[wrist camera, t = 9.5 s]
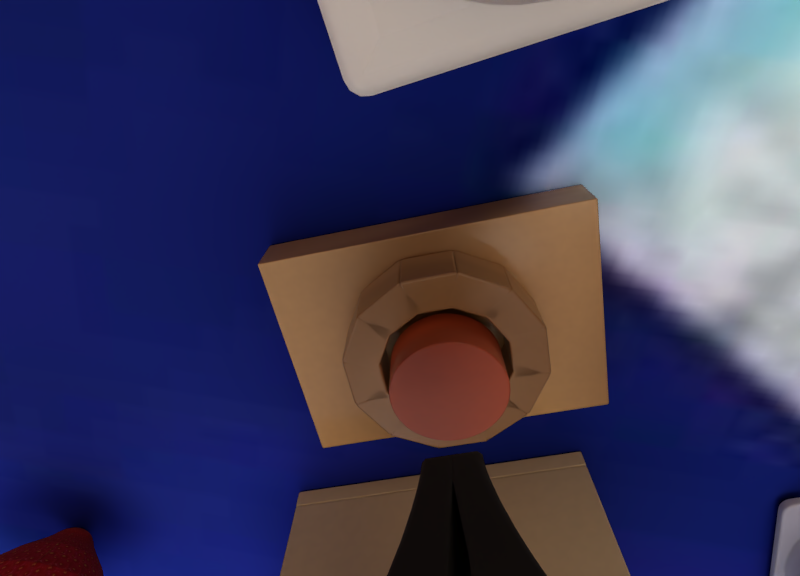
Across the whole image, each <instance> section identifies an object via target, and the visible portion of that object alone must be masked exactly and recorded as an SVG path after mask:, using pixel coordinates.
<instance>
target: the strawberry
mask: <svg viewBox="0 0 800 576" xmlns="http://www.w3.org/2000/svg"><path fill="white" fill-rule="evenodd" d="M0 576H103V570H102V567H101V565H100V562H99V560H98V557H97V554H96V552H95V549H94V542H93V538H92V536H91V534H90V533H89V532H88V531H87V530H85V529H83V528H77V527H74V528H68V529H65V530H62V531H60V532H58V533H56V534H54V535H51V536H49V537H46V538H43V539H40V540H37V541H34V542H31V543H28V544H25V545H22V546H19V547H17V548H15V549H12V550H10V551H8V552H6V553H3V554H1V555H0Z"/></svg>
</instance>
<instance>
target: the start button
mask: <svg viewBox="0 0 800 576" xmlns="http://www.w3.org/2000/svg"><path fill="white" fill-rule="evenodd" d="M510 391H511V389H510V381H509V377H508V373H507V369H506V366H505V362H504V359H503V355H502V352H501V348H500V345H499V343H498V341H497V339H496V337H495V336H494V334H493V333H492V332H491V331H490V330H489V329H488V328H487V327H486V326H485V325H483V324H482V323H480V322H479V321H477V320H475V319H473V318H470V317H467V316H464V315H460V314H452V313H443V314H436V315H431V316H428V317H425V318H422V319H420V320H418V321H416V322H415V323H413V324H412V325H410V326H409V327H408V328H407V329H405V330H404V331H403V333H402V334H401V335H400V336H399V338H398V339H397V341H396V342H395V345H394V347H393V350H392V353H391V363H390V380H389V399H390V403H391V406H392V409H393V411H394V413H395V415H396V416H397V417H398V419H399V420H400V421H401V422H402V423H403V424H404V425H405V426H406V427H407V428H409V429H410V430H412V431H413V432H415V433H417V434H419V435H421V436H424V437H427V438H430V439H435V440H442V441H454V440H462V439H467V438H470V437H473V436H476V435H478V434H480V433H482V432H484V431H485V430H487V429H488V428H490V427H491V426H493V425H494V424H495V423H496V422H497V421H498V420H499V418H500V417H501V416H502V415H503V413H504V411H505V410H506V407H507V405H508V402H509V398H510Z"/></svg>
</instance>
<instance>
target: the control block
mask: <svg viewBox="0 0 800 576" xmlns="http://www.w3.org/2000/svg"><path fill="white" fill-rule="evenodd" d="M258 266H259V269H260V272H261V275H262V278H263V280H264V283H265V286H266V289H267V292H268V295H269V297H270V300H271V303H272V306H273V309H274V311H275V314H276V317H277V320H278V323H279V326H280V328H281V331H282V334H283V337H284V340H285V343H286V345H287V348H288V351H289V354H290V357H291V359H292V362H293V365H294V368H295V371H296V374H297V376H298V379H299V382H300V385H301V388H302V390H303V393H304V396H305V399H306V402H307V405H308V407H309V410H310V413H311V416H312V419H313V421H314V424H315V427H316V430H317V433H318V436H319V438H320V441H321V444H322V447H323V448H326V447H332V446H339V445H345V444H352V443H358V442H365V441H371V440H378V439H384V438H391V437H399V438H402V439H406V440H410V441H414V442H418V443H421V444H425V445H429V446H433V447H438V448H443V447H450V446H457V445H463V444H470V443H477V442H483V441H487V440H488V439H490V438H492V437H494V436H495V435H497V434H498V433H500V432H501V431H503V430H504V429H506V428H508V427H509V426H511V425H512V424H514V423H515V422H517V421H518V420H520V419H522V418H523V417H527V416H534V415H540V414H547V413H553V412H560V411H566V410H573V409H579V408H586V407H592V406H599V405H605V404H609V398H608V380H607V362H606V343H605V325H604V307H603V289H602V271H601V252H600V234H599V216H598V199H597V198H596V197H595V196H594V195H593V194H592V193H591V192H590V191H588V190H587V189H586V188H585V187H584V186H583V185H576V186H571V187H566V188H561V189H555V190H550V191H545V192H540V193H535V194H530V195H525V196H520V197H515V198H510V199H505V200H500V201H495V202H490V203H484V204H479V205H474V206H469V207H464V208H459V209H454V210H449V211H444V212H439V213H434V214H429V215H424V216H419V217H413V218H408V219H403V220H398V221H393V222H388V223H383V224H378V225H373V226H368V227H363V228H358V229H353V230H348V231H342V232H337V233H332V234H327V235H322V236H317V237H312V238H307V239H302V240H297V241H292V242H287V243H282V244H277V245H271V246H269V248H268V249H267V251H266V253H265V254H264V256H263V257H262V259H261V260H260V262H259V264H258ZM443 313H452V314H460V315H464V316H467V317H470V318H473V319H475V320H477V321H479V322H480V323H482V324H483V325H485V326H486V327H487V328H488V329H489V330H490V331H491V332H492V333H493V334H494V336H495V337H496V339H497V341H498V343H499V345H500V348H501V352H502V355H503V359H504V362H505V366H506V369H507V373H508V377H509V381H510V389H511V391H510V398H509V402H508V405H507V407H506V410H505V411H504V413H503V415H502V416H501V417H500V418H499V420H498V421H497V422H496V423H495V424H494V425H493V426H491V427H490V428H488V429H487V430H485V431H484V432H482V433H480V434H478V435H476V436H473V437H470V438H467V439H462V440H454V441H442V440H435V439H430V438H427V437H424V436H421V435H419V434H417V433H415V432H413V431H412V430H410V429H409V428H407V427H406V426H405V425H404V424H403V423H402V422H401V421H400V420H399V419H398V417H397V416H396V415H395V413H394V411H393V409H392V406H391V403H390V399H389V380H390V363H391V353H392V350H393V347H394V345H395V342H396V341H397V339H398V338H399V336H400V335H401V334H402V333H403V331H404V330H405V329H407V328H408V327H409V326H410V325H412V324H413V323H415V322H416V321H418V320H420V319H422V318H425V317H428V316H431V315H436V314H443Z"/></svg>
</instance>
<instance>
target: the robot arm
mask: <svg viewBox="0 0 800 576" xmlns="http://www.w3.org/2000/svg"><path fill="white" fill-rule="evenodd" d="M387 576H547V575H546V573H545V572H544V571H543V569H542V568H541V566H540V565H539V563H538V562H537V560H536V559H535V558H534V556H533V554H532V553H531V551H530V550H529V548H528V547H527V545H526V544H525V542H524V541H523V539H522V537H521V536H520V534H519V533H518V531H517V529H516V528H515V526H514V524H513V522H512V520H511V519H510V517H509V515H508V513H507V512H506V510H505V508H504V506H503V504H502V502H501V501H500V499H499V497H498V495H497V492H496V490H495V488H494V486H493V484H492V482H491V479H490V477H489V474H488V472H487V469H486V466H485V463H484V459H483V454H481V453H479V452H478V451H475V452H468V453H461V454H455V455H448V456H441V457H435V458H428V459H425V460H424V461H423V463H422V467H421V473H420V478H419V483H418V487H417V491H416V495H415V498H414V502H413V505H412V509H411V512H410V515H409V518H408V521H407V524H406V527H405V530H404V533H403V536H402V539H401V542H400V544H399V547H398V549H397V552H396V554H395V557H394V559H393V562H392V564H391V567H390V569H389V572H388V574H387ZM770 576H800V497H799V498H791V499H787V500H785V501H783V502H782V503H781V504H780V505H779V507H778V513H777V521H776V529H775V537H774V545H773V553H772V561H771V568H770Z"/></svg>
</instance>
